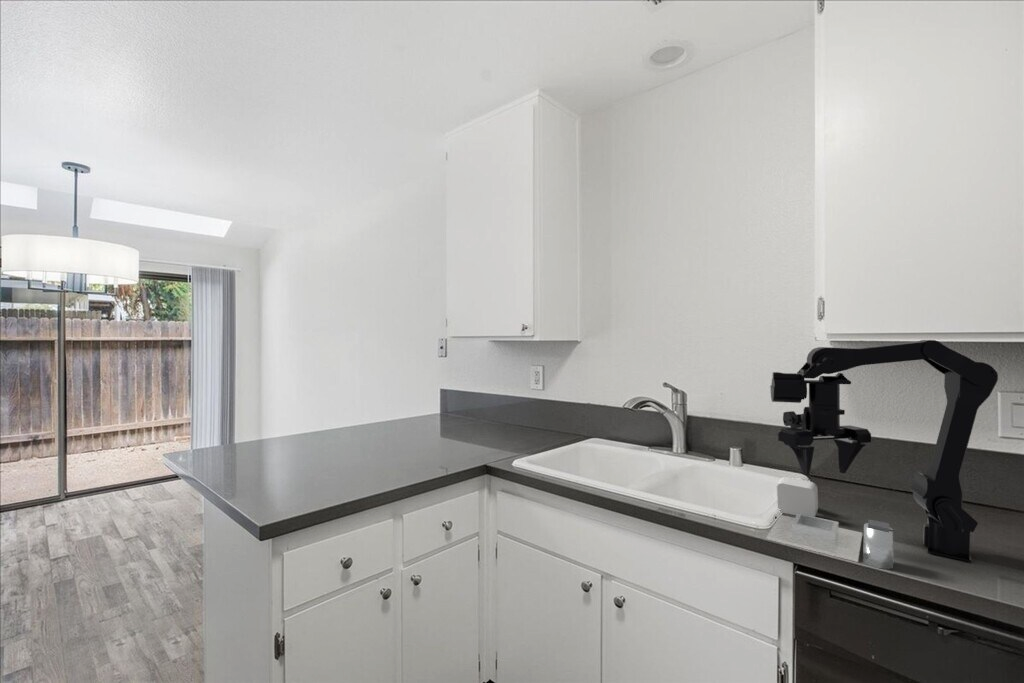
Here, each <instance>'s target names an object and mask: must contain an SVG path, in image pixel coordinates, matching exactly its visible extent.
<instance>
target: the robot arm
mask: <svg viewBox="0 0 1024 683" xmlns="http://www.w3.org/2000/svg"><path fill="white" fill-rule="evenodd" d="M920 360H923V361H924V362H926V363H927V364H928V365H929V366H931V367H932V368H933V369H935V370H937V371H938V372H939V373H941V374H943V375H944V385H943V386H944V391H945V396H946V407H945V410H944V414H943V417H942V420H941V421H942V422H941V425H940V428H939V432H938V436H937V439H936V443H935V447H934V450H933V454H932V457H931V462H930V465H929V467H928V468H927V469H926V470H925V471H924V473H921V472H919V471H914V476H913V478H914V479H913V483H912V485H911V486H910V487H909V490H911V491H913V492H912V496H913V499H914V500H915V502H916V503H917V504H918V505H919V506H920V507H921V508H923V511H924V513H925V514H926V515H928V516H927V523H923V541H922V542H923V546H924V547H925V548H926V553H929V554H933V555H937V556H941V557H945V558H949V559H954V560H958V561H959V560H960V561H964V562H966V563H967V562H968V563H972V557H971V533H973V532H974V531H975V530H976V528H977V525H979V523H978V521H977V520H976V519H974V518H973V517H972V516H971V515H970V514H969V513H968V512H967V511H965V510H964V509H963V500H964V499H963V497H964V496H963V495H964V494H963V493H964V492H963V488H962V484H961V483H962V482H961V478H960V476H961V475H960V474H961V471H962V469H963V468H962V467H963V464H964V461H965V457H966V452H967V449H968V446H969V443H970V442H969V441H970V438H971V435H972V431H973V428H974V424H975V420H976V416H977V413H978V410H979V409H980V407H981V406H982V405H983V403H984V402H986V401H987V400H988V399H989V397H990V396H991V394H992V392H993V390H994V388H995V387H996V385H997V383H998V380H999V374H998V372H997V371H996V369H995V368H994V367H993V366H992V365H990V364H988V363H986V362H982V361H974V360H973V359H971V358H969V357H968V356H965V355H964V354H962V353H959V352H958V351H955V350H953V349H952V348H949V347H947V346H946V345H944V344H943V343H941V341H939V340H938V341H937V340H935V339H921V340H918V341H913V342H904V343H902V342H901V343H894V344H886V345H885V344H884V345H876V346H874V345H873V346H867V347H857V348H856V347H855V348H852V347H851V348H850V347H849V348H848V347H830V346H829V347H828V346H827V347H825V346H819V347H815V348H812V349H811V350H810V351H809V352H808V354H807V356H806V362H805V363H804V364H803V366H802V367H800V368H799V370H798V371H797V372H795V373H792V372H791V373H790V372H789V373H786V372H779V371H778V372H777V371H773V372H772V377H771V385H770V398H771V399H770V400H771V402H772V403H795V404H800V403H801V402H802V401H803V400H805V399H807V397H808V406H804V407H803V413H801V414H800V413H799V414H797V413H796V411H794V410H793V411H792V410H791V411H784V412H783V414H782V422H783V425H784V426H785V427H786V428H785V427H784V428H783V427H782V428H780V430H779V431H778V433H777V436H778V441H779V442H782V443H783V444H784V445H785V446H789V448H790V450H791V449H792V451H793V453H794V454H795V457H796V459H797V462H798V464H799V467H800V470H801V471H802V475H804V476H806V477H808V476H809V475H810V472H811V468H812V461H813V457H814V452H815V446H812V444H813V443H814V441H821V440H822V441H824V440H825V441H826V440H833V441H834V443H835V445H836V447H837V448H838V450H837V452H838V453H837V455H838V456H837V457H838V469H839V473H840V474H846V473H847V471H848V469H849V468H850V467H851V465H852V463H853V461H855V458H856V457H857V455H858V454H859V453H860V451H861V450H862V449H863V448H864V447H866V446H867V444H866V443H872V433H871V432H870V431H869V429H868V428H863V427H859V426H855V425H854V426H853V425H841V421H840V420H841V417H840V416H841V415H843V416H844V415H845V413H846V412H845V409H841V401H840V398H841V395H840V394H841V392H840V388H841V385H851V384H852V381H851V380H849V378H847V377H846V376H845V375H844V373H843V372H844V371H848V370H851V369H853V368H856V367H860V366H867V365H868V366H869V365H878V364H879V365H880V364H887V363H888V364H890V363H891V364H892V363H900V362H901V363H902V362H911V361H920ZM835 373H837V374H835ZM823 374H824V375H823ZM831 374H835V375H831ZM816 378H818V379H816ZM807 385H808V386H807ZM807 395H808V396H807ZM974 533H975V532H974Z"/></svg>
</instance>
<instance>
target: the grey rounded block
mask: <svg viewBox="0 0 1024 683" xmlns="http://www.w3.org/2000/svg"><path fill="white" fill-rule="evenodd" d="M818 493H819V492H818V486H817V484H816V483H815V482H814V481H813V482H812V481H810V480H805V479H804V478H803V477H797V478H792V477H787V476H785V477H781V478H780V480H779V482H778V483H777V486H776V497H777V509H778V508H779V509H781V511H782V512H781V511H780V512H781V513H783V514H787V515H791V516H794V517H796V515H797V514H798V513H799V514H803V515H808V516H813V517H816V515H817V513H818V509H819V497H818V495H819V494H818ZM779 509H778V510H779Z"/></svg>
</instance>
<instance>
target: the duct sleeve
mask: <svg viewBox="0 0 1024 683" xmlns="http://www.w3.org/2000/svg"><path fill="white" fill-rule="evenodd" d="M894 537H895V530H894V529H893V528H892V527H890V523H888V522H883V521H880V520H879V521H878V520H875V519H874V520H873V519H868V521H867V522H865V523H864V524H863V551H862V552H863V553H862V560H863V562H864V563H865V564H867V565H869V566H871V567H873V568H877V569H882V570H891V568H892V569H893V568H894V542H895V540H894Z"/></svg>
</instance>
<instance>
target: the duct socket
mask: <svg viewBox="0 0 1024 683" xmlns="http://www.w3.org/2000/svg"><path fill="white" fill-rule="evenodd" d="M839 524H840V523H839V521H836V520H832V519H825V518H822V517H817V516H815V517H813V516H808V515H803V514H799V513H798V514H797V515H796V516H794V517H792V516H787V515H783V514H780V515H779V516H778V518H777V520H776V521H775V523H774V524H773V526H772V528H771V529H770V531H769V532H768V534H767V535H766V540H769V541H773V542H777V543H779V544H785V545H788V546H793V547H797V548H800V549H805V550H807V551H808V550H809V551H814V552H817V553H820V554H823V555H828V556H833V557H836V558H840V559H843V560H844V559H845V560H848V561H852V562H856V563H859V559H860V553H861V547H862V541H863V532H861V531H857V530H852V529H847V528H844V527H839Z"/></svg>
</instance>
